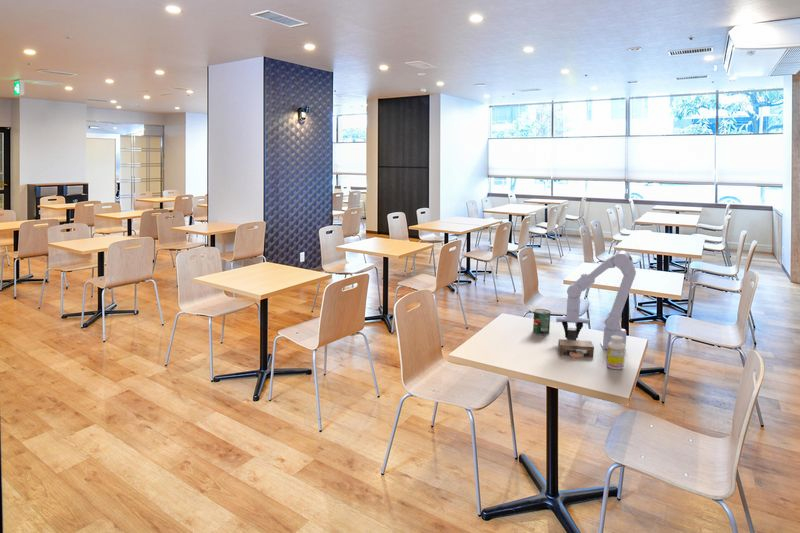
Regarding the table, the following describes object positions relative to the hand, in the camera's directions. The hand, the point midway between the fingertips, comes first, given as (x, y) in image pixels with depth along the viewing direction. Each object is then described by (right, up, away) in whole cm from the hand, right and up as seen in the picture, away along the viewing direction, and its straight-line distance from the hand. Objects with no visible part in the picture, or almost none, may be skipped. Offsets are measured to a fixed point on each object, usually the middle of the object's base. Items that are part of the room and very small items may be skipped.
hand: (571, 337), depth 256 cm
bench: (-3, -5, -15) cm, 16 cm away
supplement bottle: (+8, -8, -31) cm, 33 cm away
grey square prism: (-1, -3, -6) cm, 7 cm away
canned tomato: (-11, 0, +13) cm, 17 cm away
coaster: (-4, -6, -18) cm, 20 cm away
